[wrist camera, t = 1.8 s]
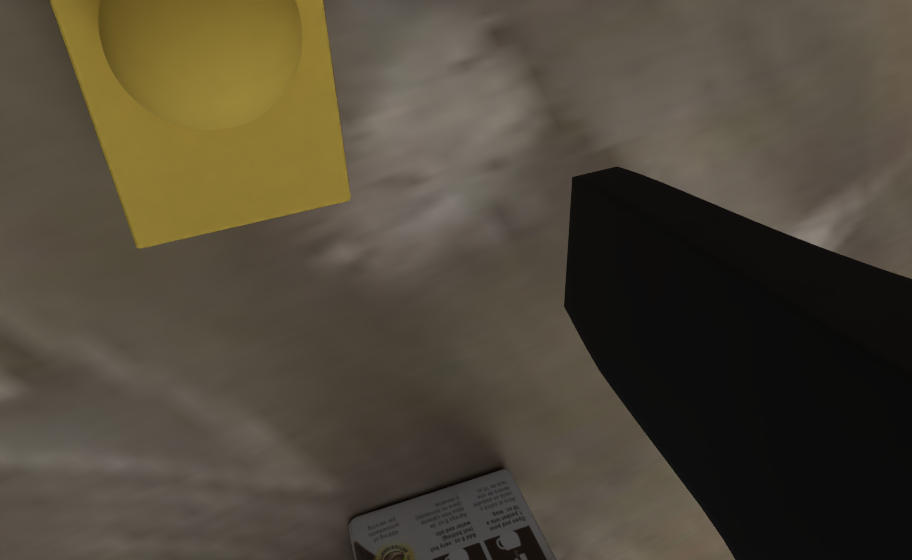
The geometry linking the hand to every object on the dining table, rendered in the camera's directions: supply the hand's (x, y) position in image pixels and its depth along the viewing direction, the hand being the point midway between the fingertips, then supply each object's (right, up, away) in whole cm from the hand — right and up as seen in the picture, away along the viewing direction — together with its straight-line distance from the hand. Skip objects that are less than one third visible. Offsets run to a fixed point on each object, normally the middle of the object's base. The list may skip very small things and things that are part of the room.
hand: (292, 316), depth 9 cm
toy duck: (-4, +6, +7) cm, 10 cm away
